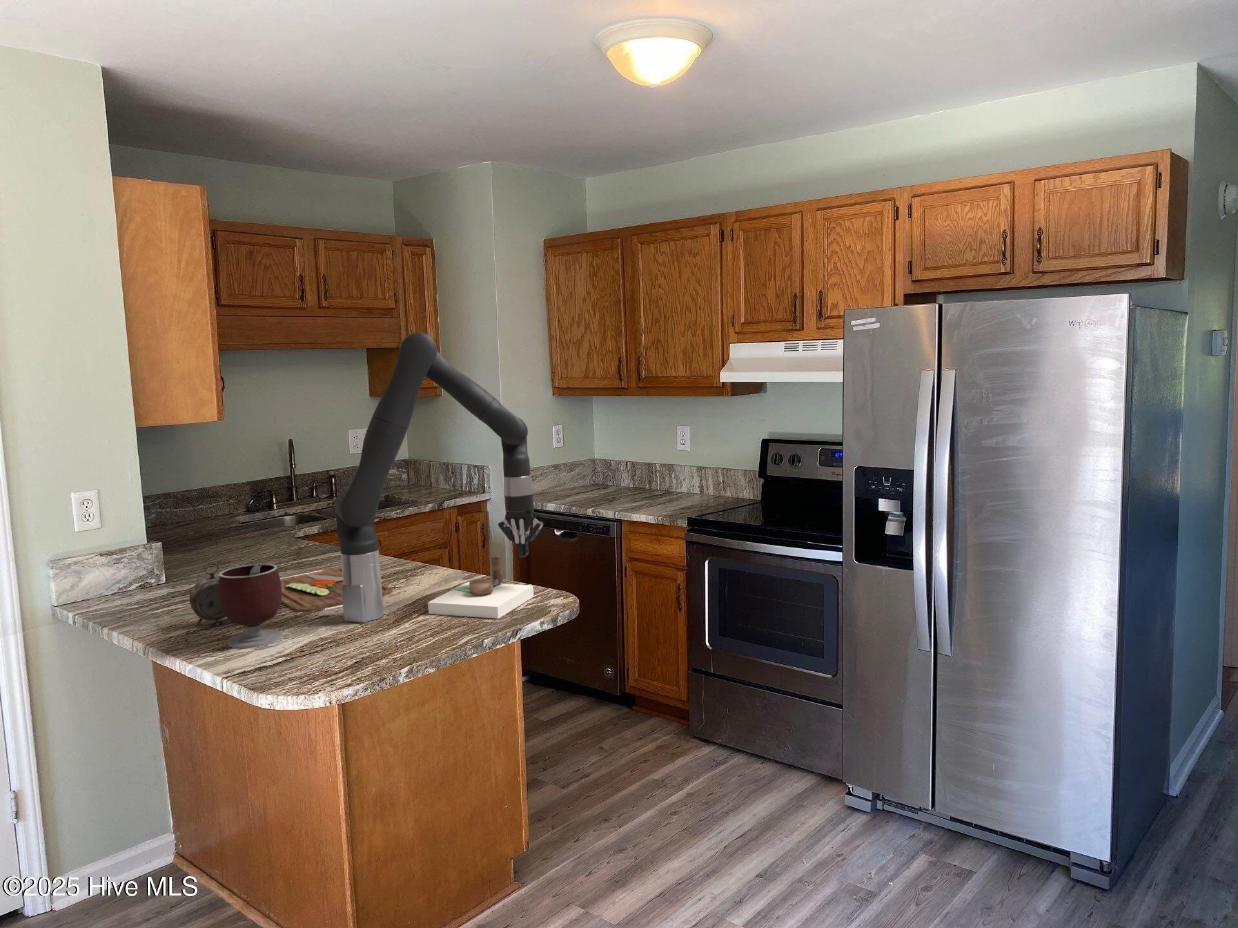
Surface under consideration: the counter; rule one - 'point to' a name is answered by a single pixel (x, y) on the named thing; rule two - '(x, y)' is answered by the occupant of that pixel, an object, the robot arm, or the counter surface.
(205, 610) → the alarm clock
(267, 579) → the mate gourd
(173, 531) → the counter surface
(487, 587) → the crank handle
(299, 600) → the chopping board
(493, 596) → the white square slab
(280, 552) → the counter surface
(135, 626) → the counter surface
